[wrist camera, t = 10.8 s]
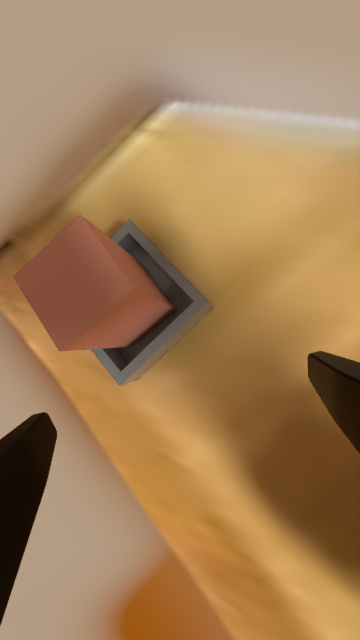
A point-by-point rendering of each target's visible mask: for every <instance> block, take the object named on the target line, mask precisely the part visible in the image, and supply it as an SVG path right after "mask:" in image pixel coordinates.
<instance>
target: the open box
mask: <svg viewBox="0 0 360 640" xmlns="http://www.w3.org/2000/svg"><path fill="white" fill-rule="evenodd" d="M111 239H112V240H113V241H114V242H115V243H117V244H118V245H119V246H120V247H122V248H123V249H124V250H125V251H127V252H128V253H129V254H131V255H132V256H133V257H134V258H136V259H137V260H138V261H139V262H141V263H142V264H143V265H144V266H145V268H146V269H147V270H148V272H149V273H150V274H151V276H152V277H153V278H154V280H155V281H156V282H157V283H158V285H159V286H160V287H161V289H162V290H163V291H164V293H165V294H166V295H167V297H168V298H169V299H170V301H171V302H172V303H173V305H174V306H175V307H176V309H177V310H176V311H175V312H174V313H173V314H171V315H170V316H169V317H168V318H167V319H165V320H164V321H163V322H162V323H160V324H159V325H158V326H157V327H155V328H154V329H153V330H152V331H150V332H149V333H148V334H147V335H145V336H144V337H143V338H142V339H140V340H139V341H138V342H137V343H135V344H134V345H133V346H132V347H118V348H102V349H91V350H92V352H93V353H94V354H95V356H96V357H97V358H98V359H99V361H100V362H101V363H102V364H103V366H104V367H105V368H106V369H107V371H108V372H109V373H110V374H111V376H112V377H113V378H114V380H115V381H116V382H117V383H118V385H119V386H122V385H125V384H127V383H130V382H132V381H135V380H137V379H139V378H140V377H141V376H142V375H143V374H144V373H145V372H146V371H147V370H148V369H149V368H150V367H151V366H152V365H154V364H155V363H156V362H157V361H158V360H159V359H160V358H161V357H162V356H163V355H164V354H165V353H166V352H167V351H168V350H169V349H170V348H171V347H173V346H174V345H175V344H176V343H177V342H178V341H179V340H180V339H181V338H182V337H183V336H184V335H185V334H186V333H187V332H188V331H189V330H190V329H192V328H193V327H194V326H195V325H196V324H197V323H198V322H199V321H200V320H201V319H202V318H203V317H204V316H205V315H206V314H207V313H208V312H209V311H211V310H212V309H213V308H214V307H213V306H212V305H211V304H210V302H209V301H208V300H207V299H206V298H205V297H204V296H203V295H202V294H201V293H200V292H199V291H198V290H197V289H196V288H195V287H194V286H193V285H192V284H191V282H190V281H189V280H188V279H187V278H186V277H185V276H184V275H183V274H182V273H181V272H180V271H179V270H178V269H177V268H176V267H175V266H174V265H173V264H172V263H171V262H170V261H169V260H168V259H167V258H166V257H165V256H164V255H163V254H162V252H161V251H160V250H159V249H158V248H157V247H156V246H155V245H154V244H153V243H152V242H151V241H150V240H149V239H148V238H147V237H146V236H145V235H144V234H143V233H142V232H141V231H140V230H139V229H138V228H137V227H136V226H135V225H134V224H133V222H132V221H131V220H130V219H129V220H128V221H127V222H126V223H125V224H124V225H123V226H122V227H121V228H120V229H119V230H118V231H117V232H116V233H115V234H114V235H113V236H112V237H111Z"/></svg>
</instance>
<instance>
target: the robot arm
mask: <svg viewBox="0 0 360 640" xmlns="http://www.w3.org/2000/svg"><path fill="white" fill-rule="evenodd" d="M308 376H309V379H310V382H311V383H312V385H313V386H314V388H315V390H316V391H317V393H318V395H319V396H320V398H321V400H322V401H323V403H324V405H325V406H326V408H327V409H328V411H329V413H330V414H331V416H332V417H333V419H334V421H335V422H336V423H337V425H338V426H339V427H340V429H341V430H342V431H343V433H344V434H345V435H346V437H347V438H348V439H349V440H350V442H351V443H352V444H353V446H354V447H355V448H356V450H357V451H358V452H359V454H360V363H359V362H356V361H353V360H350V359H346V358H343V357H340V356H336V355H333V354H330V353H326V352H323V351H318V352H314V353H310V354H309V355H308ZM56 439H57V431H56V428H55V426H54V425H53V423H52V421H51V419H50V417H49V415H48V414H47V413H45V412H43V413H38V414H34V415H32V416H31V417H29V418H28V419H27V420H25V421H24V422H23V423H21V424H20V425H19V426H17V427H16V428H15V429H14V430H12V431H11V432H10V433H8V434H7V435H6V436H5V437H3V438H2V439H0V625H1V622H2V619H3V616H4V613H5V609H6V607H7V604H8V600H9V597H10V594H11V591H12V588H13V585H14V582H15V579H16V576H17V573H18V570H19V567H20V564H21V560H22V557H23V554H24V551H25V548H26V545H27V542H28V539H29V536H30V533H31V530H32V526H33V523H34V520H35V517H36V514H37V511H38V508H39V505H40V502H41V498H42V496H43V493H44V489H45V486H46V483H47V479H48V475H49V470H50V466H51V461H52V457H53V452H54V448H55V443H56Z"/></svg>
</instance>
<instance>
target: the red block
mask: <svg viewBox="0 0 360 640" xmlns="http://www.w3.org/2000/svg"><path fill="white" fill-rule="evenodd" d="M13 277H14V279H15V280H16V282H17V284H18V285H19V287H20V289H21V290H22V292H23V293H24V295H25V297H26V298H27V300H28V301H29V303H30V305H31V306H32V308H33V310H34V311H35V313H36V314H37V316H38V318H39V319H40V321H41V322H42V324H43V326H44V327H45V329H46V331H47V332H48V334H49V335H50V337H51V339H52V340H53V342H54V343H55V345H56V347H57V348H58V350H59V351H71V350H87V349H102V348H118V347H132V346H133V345H134V344H135V343H137V342H138V341H139V340H140V339H142V338H143V337H144V336H145V335H147V334H148V333H149V332H150V331H152V330H153V329H154V328H155V327H157V326H158V325H159V324H160V323H162V322H163V321H164V320H165V319H167V318H168V317H169V316H170V315H171V314H173V313H174V312H175V311H176V310H177V309H176V307H175V306H174V305H173V303H172V302H171V301H170V299H169V298H168V297H167V295H166V294H165V293H164V291H163V290H162V289H161V287H160V286H159V285H158V283H157V282H156V281H155V280H154V278H153V277H152V276H151V274H150V273H149V272H148V270H147V269H146V268H145V266H144V265H143V264H142V263H141V262H139V261H138V260H137V259H136V258H134V257H133V256H132V255H131V254H129V253H128V252H127V251H125V250H124V249H123V248H122V247H120V246H119V245H118V244H117V243H115V242H114V241H113V240H112V239H110V238H109V237H108V236H106V235H105V234H104V233H103V232H101V231H100V230H99V229H98V228H96V227H95V226H94V225H93V224H91V223H90V222H89V221H87V220H86V219H85V218H84V217H82V216H81V215H80V216H79V217H77V218H76V219H75V220H74V221H73V222H72V223H71V224H70V225H69V226H68V227H67V228H66V229H64V230H63V231H62V232H61V233H60V234H59V235H58V236H57V237H56V238H55V239H54V240H52V241H51V242H50V243H49V244H48V245H47V246H46V247H45V248H44V249H43V250H42V251H41V252H39V253H38V254H37V255H36V256H35V257H34V258H33V259H32V260H31V261H30V262H29V263H28V264H26V265H25V266H24V267H23V268H22V269H21V270H20V271H19V272H18V273H17V274H16V275H14V276H13Z"/></svg>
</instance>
